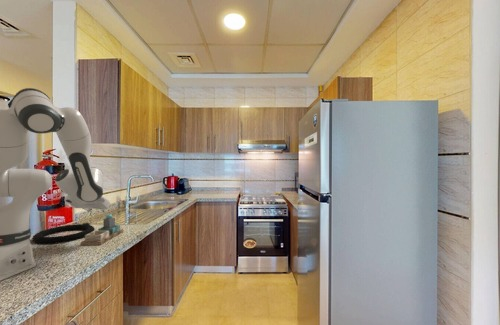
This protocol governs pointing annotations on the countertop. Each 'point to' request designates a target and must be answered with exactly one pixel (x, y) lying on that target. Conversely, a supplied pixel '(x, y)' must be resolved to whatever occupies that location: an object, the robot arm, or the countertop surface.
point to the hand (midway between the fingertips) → (98, 211)
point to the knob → (109, 222)
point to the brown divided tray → (101, 236)
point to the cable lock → (59, 239)
